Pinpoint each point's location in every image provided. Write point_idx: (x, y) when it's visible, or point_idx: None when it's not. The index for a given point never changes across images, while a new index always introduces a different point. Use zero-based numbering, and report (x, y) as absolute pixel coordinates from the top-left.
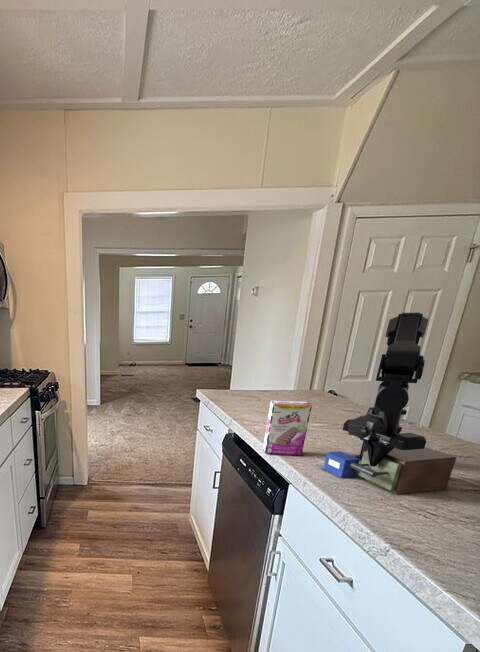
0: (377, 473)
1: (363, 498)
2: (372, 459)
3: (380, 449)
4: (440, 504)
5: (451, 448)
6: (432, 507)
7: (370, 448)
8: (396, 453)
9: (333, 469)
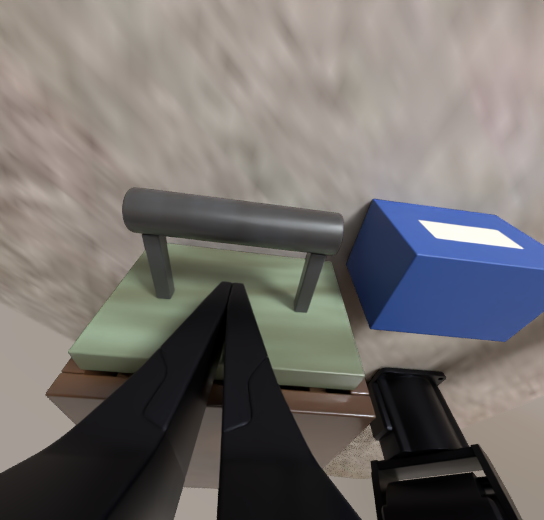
0: (144, 237)
1: (97, 44)
2: (215, 314)
3: (66, 438)
4: (68, 293)
5: (339, 466)
6: (33, 257)
7: (231, 409)
8: (209, 434)
9: (443, 216)
